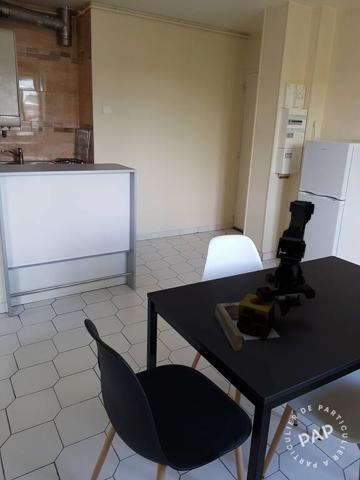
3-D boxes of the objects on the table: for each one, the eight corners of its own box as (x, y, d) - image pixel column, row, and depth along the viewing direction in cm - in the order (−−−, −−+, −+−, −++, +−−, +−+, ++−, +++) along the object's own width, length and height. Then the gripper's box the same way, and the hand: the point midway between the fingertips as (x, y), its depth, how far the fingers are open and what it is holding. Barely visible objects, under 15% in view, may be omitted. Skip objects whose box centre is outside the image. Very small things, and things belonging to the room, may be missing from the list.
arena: (268, 312, 135) (269, 300, 134) (296, 345, 115) (298, 330, 114) (215, 316, 131) (215, 303, 130) (234, 350, 112) (236, 336, 110)
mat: (264, 318, 131) (264, 318, 131) (279, 337, 119) (280, 336, 119) (232, 321, 128) (232, 320, 128) (244, 340, 117) (244, 339, 117)
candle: (265, 340, 117) (268, 312, 114) (235, 331, 121) (237, 304, 118) (274, 326, 125) (277, 299, 122) (245, 318, 130) (248, 292, 127)
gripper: (301, 262, 129) (296, 303, 134) (251, 265, 126) (247, 307, 130) (319, 274, 119) (313, 318, 123) (265, 278, 115) (260, 322, 120)
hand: (283, 316), depth 124 cm, fingers closed
